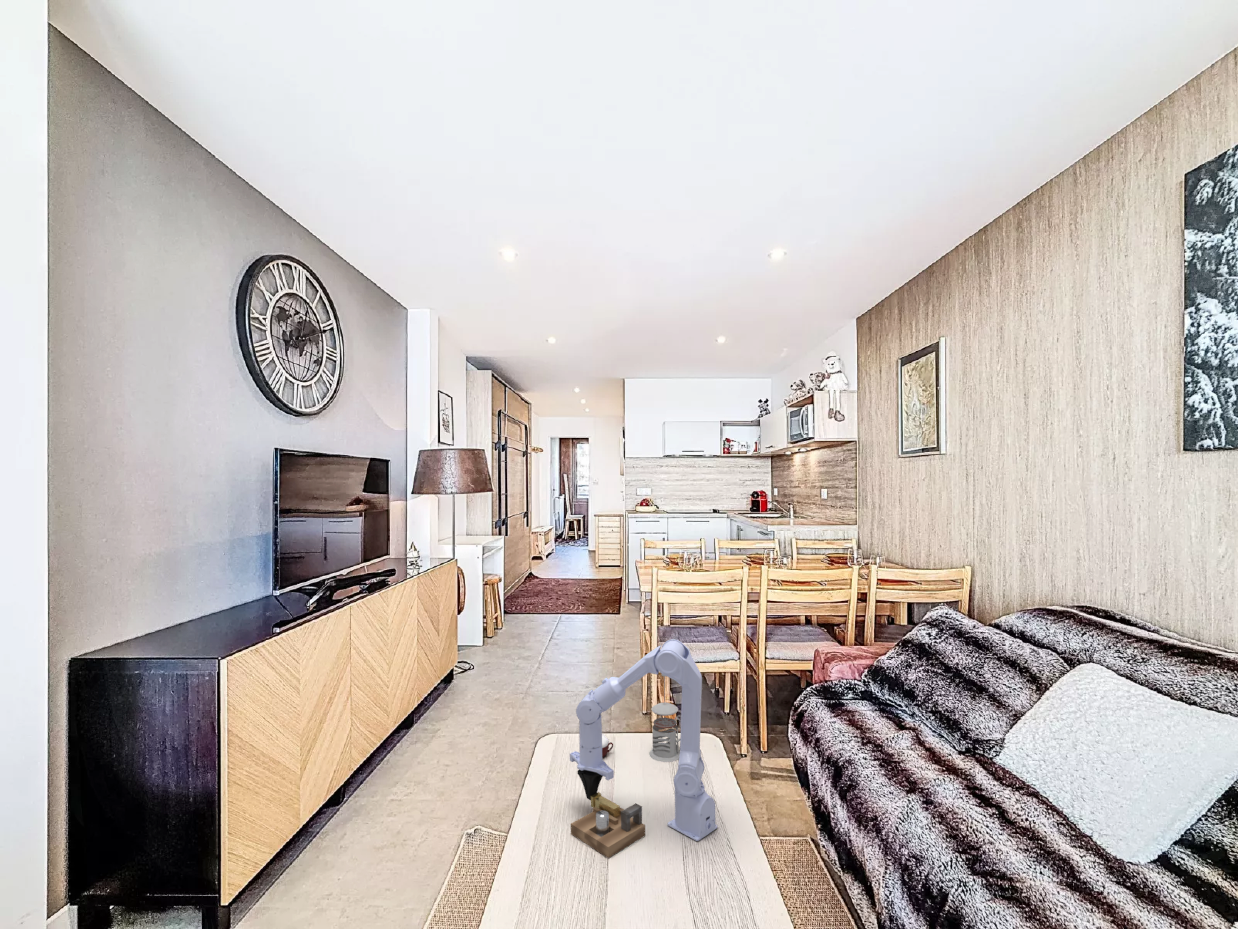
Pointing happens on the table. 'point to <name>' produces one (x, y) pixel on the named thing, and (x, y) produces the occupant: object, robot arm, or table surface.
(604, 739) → the cocoa
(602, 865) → the table surface
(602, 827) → the cylinder
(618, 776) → the table surface
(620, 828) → the dock
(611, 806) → the lock pin
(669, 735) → the french press
